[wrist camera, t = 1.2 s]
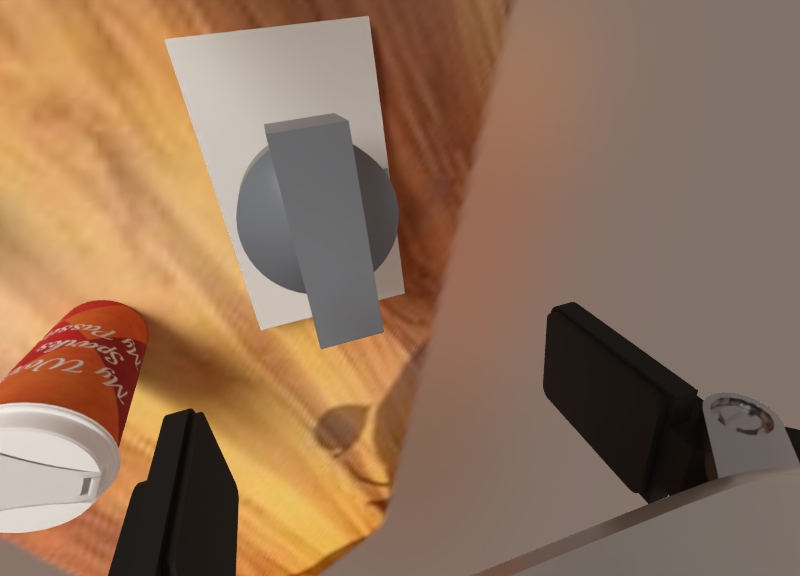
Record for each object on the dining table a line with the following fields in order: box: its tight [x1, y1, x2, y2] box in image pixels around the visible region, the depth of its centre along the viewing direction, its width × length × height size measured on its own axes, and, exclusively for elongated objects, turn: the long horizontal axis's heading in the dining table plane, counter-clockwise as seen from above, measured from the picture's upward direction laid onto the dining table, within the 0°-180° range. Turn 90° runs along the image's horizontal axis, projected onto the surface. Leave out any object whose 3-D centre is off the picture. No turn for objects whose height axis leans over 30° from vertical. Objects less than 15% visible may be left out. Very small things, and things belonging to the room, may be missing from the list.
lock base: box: [164, 16, 405, 330], centre depth 29 cm, size 20×12×6 cm, turn 7°
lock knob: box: [236, 113, 399, 349], centre depth 24 cm, size 12×9×7 cm
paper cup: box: [0, 300, 148, 533], centre depth 26 cm, size 8×8×14 cm
